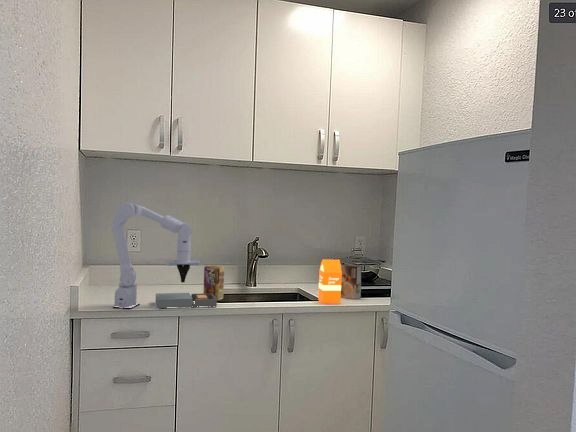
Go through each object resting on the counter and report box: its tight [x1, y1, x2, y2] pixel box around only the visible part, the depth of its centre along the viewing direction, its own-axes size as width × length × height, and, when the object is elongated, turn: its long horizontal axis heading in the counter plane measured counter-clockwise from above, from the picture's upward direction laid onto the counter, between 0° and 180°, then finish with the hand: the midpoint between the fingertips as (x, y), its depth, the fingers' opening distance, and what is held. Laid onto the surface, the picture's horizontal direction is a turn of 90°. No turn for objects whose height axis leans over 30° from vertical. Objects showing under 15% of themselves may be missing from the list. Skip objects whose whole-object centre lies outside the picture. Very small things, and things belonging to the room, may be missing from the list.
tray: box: [190, 292, 218, 308], centre depth 225 cm, size 10×13×4 cm
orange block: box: [196, 295, 208, 299], centre depth 226 cm, size 4×6×3 cm, turn 18°
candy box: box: [203, 264, 225, 301], centre depth 238 cm, size 9×4×15 cm, turn 62°
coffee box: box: [340, 263, 363, 300], centre depth 253 cm, size 9×6×16 cm
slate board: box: [155, 292, 193, 309], centre depth 222 cm, size 14×13×4 cm
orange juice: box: [317, 259, 342, 304], centre depth 241 cm, size 8×9×20 cm
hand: (182, 282), depth 222 cm, fingers closed
